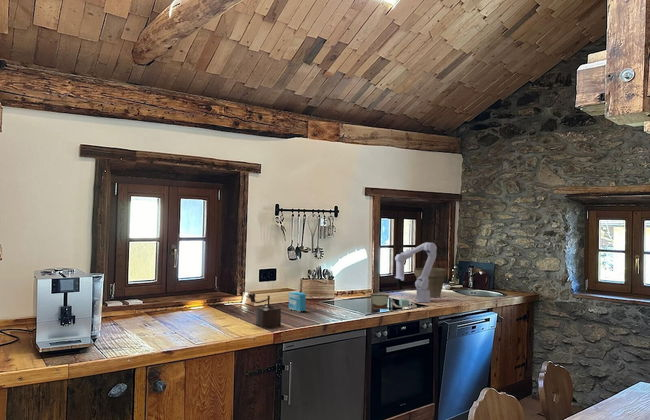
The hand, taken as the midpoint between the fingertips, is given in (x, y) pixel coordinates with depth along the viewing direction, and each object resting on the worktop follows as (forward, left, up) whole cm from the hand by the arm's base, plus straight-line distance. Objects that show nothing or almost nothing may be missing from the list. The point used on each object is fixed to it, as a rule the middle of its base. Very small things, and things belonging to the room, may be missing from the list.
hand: (400, 289), depth 343 cm
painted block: (0, +11, -10) cm, 14 cm away
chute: (0, +6, -9) cm, 11 cm away
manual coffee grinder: (+94, +74, -10) cm, 120 cm away
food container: (+19, +22, -10) cm, 31 cm away
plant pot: (-31, -29, -10) cm, 43 cm away
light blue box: (+75, +31, -10) cm, 82 cm away
